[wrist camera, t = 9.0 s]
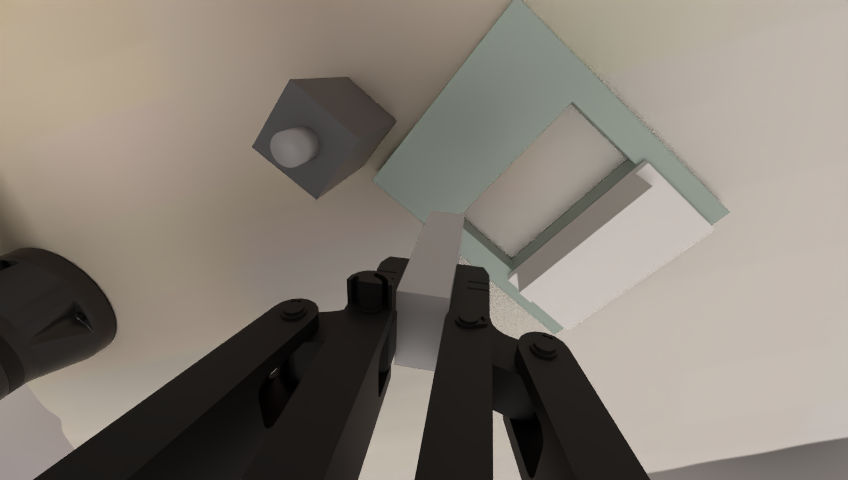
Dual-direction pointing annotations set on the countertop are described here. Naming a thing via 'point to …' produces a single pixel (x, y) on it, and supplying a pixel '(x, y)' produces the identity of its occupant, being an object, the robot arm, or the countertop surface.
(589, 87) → the socket plate
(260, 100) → the countertop surface
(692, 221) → the panel
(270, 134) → the plug
